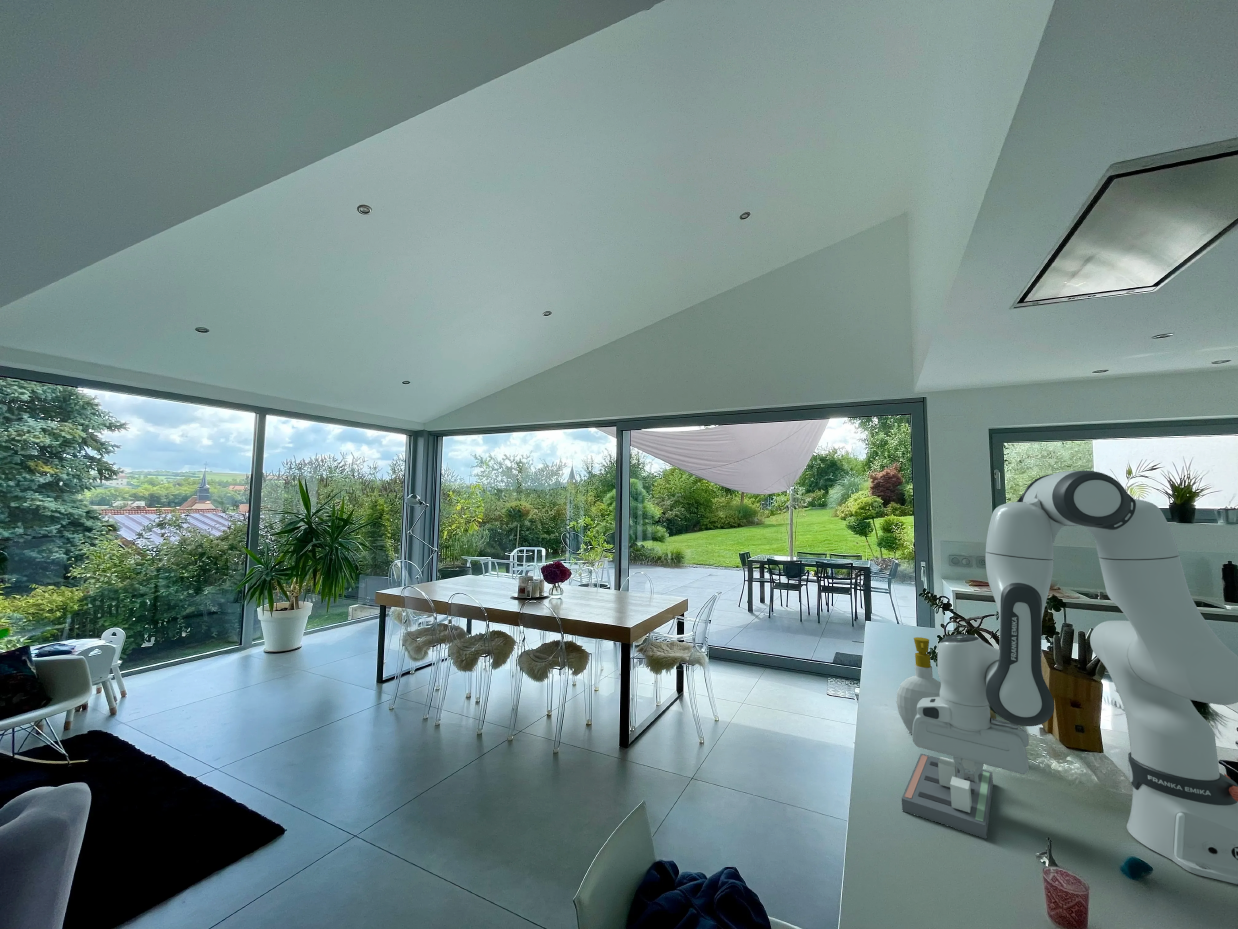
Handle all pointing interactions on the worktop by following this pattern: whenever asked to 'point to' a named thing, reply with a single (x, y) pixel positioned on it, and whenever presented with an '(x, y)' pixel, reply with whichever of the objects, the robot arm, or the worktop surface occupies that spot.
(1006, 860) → the worktop surface
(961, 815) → the switch board
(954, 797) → the switch
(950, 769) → the switch
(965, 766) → the switch
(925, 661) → the soap bottle
